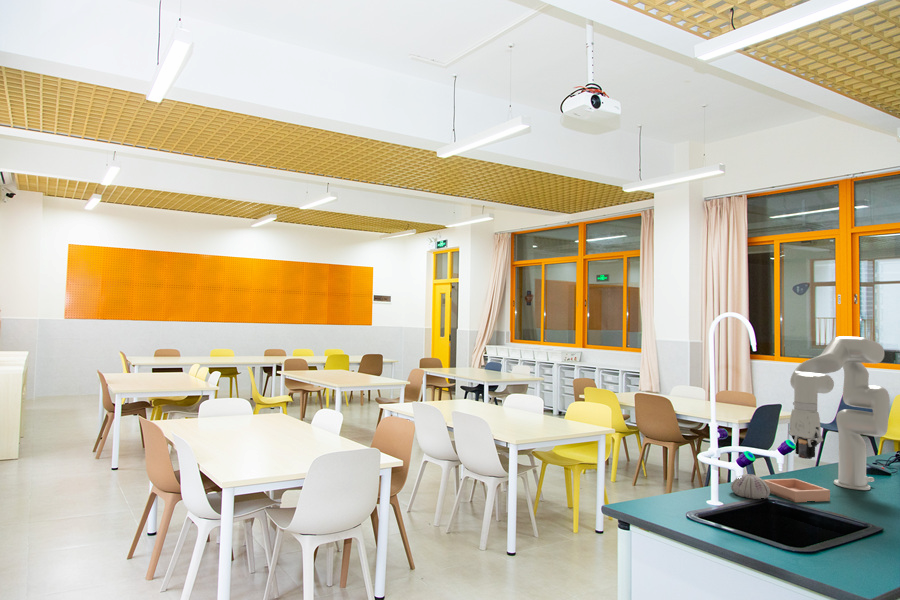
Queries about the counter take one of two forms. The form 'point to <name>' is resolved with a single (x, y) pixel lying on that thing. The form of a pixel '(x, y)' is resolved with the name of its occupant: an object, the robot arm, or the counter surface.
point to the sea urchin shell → (750, 487)
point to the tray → (797, 490)
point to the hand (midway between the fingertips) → (805, 455)
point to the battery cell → (803, 448)
